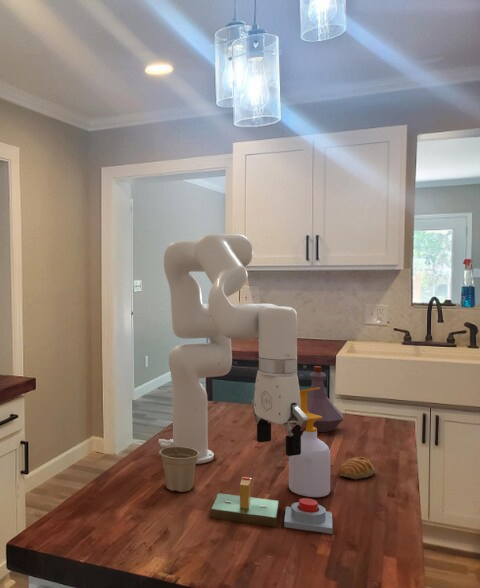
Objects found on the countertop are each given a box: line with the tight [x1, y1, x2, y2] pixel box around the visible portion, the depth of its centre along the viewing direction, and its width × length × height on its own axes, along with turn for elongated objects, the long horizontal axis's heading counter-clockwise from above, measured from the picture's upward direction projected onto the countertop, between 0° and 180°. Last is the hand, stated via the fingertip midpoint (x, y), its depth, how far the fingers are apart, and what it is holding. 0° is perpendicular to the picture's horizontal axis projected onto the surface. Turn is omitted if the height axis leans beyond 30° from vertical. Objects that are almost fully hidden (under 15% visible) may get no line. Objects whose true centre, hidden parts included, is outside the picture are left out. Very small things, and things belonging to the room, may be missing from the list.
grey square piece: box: [283, 501, 334, 535], centre depth 118 cm, size 9×8×3 cm
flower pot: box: [159, 446, 199, 493], centre depth 138 cm, size 9×9×9 cm
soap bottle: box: [288, 387, 331, 498], centre depth 135 cm, size 9×9×25 cm
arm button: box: [298, 497, 319, 512], centre depth 118 cm, size 4×4×2 cm
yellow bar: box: [239, 476, 252, 509], centre depth 123 cm, size 4×2×5 cm, turn 158°
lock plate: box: [210, 492, 280, 528], centre depth 123 cm, size 13×9×2 cm
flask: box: [307, 365, 344, 433], centre depth 187 cm, size 16×16×20 cm
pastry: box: [338, 456, 376, 480], centre depth 145 cm, size 9×7×4 cm
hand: (278, 448), depth 120 cm, fingers open, 9 cm apart
